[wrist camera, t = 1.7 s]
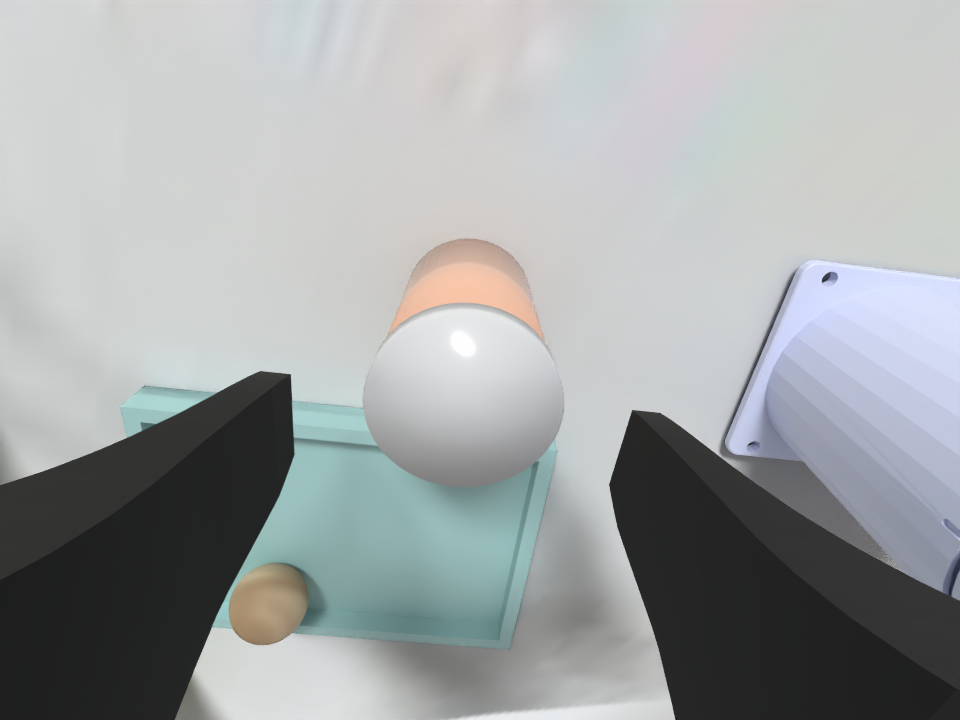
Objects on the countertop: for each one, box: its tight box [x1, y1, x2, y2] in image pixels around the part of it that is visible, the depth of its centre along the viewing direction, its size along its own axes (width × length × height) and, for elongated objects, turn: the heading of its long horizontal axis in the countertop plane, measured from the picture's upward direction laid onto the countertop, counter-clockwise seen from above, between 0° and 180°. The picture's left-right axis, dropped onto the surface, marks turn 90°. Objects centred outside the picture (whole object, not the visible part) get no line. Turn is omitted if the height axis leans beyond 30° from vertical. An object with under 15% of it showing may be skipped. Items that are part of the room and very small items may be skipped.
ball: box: [228, 563, 309, 645], centre depth 22 cm, size 3×3×3 cm
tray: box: [120, 386, 558, 650], centre depth 22 cm, size 16×12×2 cm
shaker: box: [363, 239, 564, 487], centre depth 15 cm, size 5×5×7 cm
